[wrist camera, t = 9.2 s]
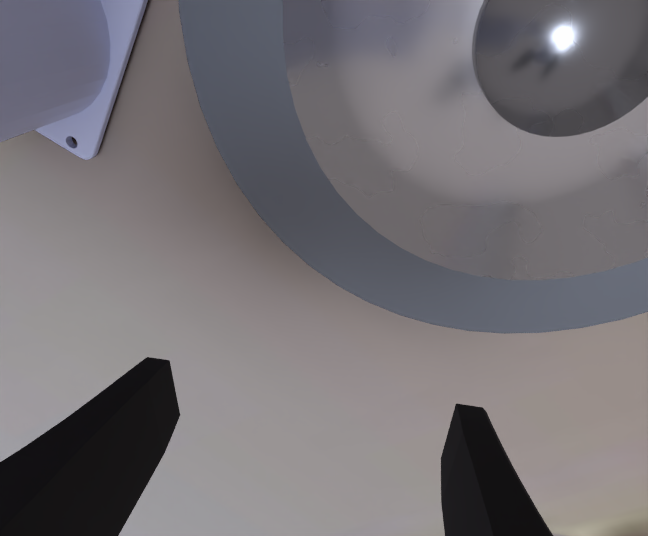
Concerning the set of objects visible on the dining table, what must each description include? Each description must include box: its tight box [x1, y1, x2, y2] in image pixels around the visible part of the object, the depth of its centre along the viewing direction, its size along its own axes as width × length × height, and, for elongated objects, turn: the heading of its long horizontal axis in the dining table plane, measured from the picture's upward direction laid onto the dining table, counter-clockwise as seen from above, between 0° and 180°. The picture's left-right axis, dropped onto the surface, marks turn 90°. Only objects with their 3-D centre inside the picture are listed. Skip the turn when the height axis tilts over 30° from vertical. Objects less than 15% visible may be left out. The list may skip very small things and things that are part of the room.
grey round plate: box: [179, 0, 648, 333], centre depth 13 cm, size 24×24×4 cm
